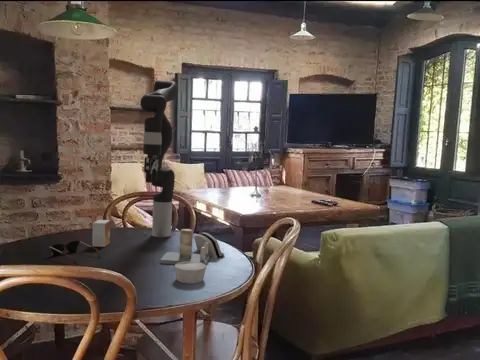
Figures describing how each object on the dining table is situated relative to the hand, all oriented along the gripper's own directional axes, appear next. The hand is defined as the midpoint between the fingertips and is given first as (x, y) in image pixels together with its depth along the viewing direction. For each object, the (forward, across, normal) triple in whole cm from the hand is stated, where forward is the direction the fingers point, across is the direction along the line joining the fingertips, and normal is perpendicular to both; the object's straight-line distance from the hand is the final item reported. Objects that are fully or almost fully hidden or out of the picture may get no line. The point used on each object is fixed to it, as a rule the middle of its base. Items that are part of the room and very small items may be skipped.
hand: (151, 181), depth 196 cm
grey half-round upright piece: (+30, +3, -25) cm, 40 cm away
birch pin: (+29, -11, -18) cm, 36 cm away
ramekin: (+30, -34, -24) cm, 52 cm away
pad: (+30, -11, -18) cm, 37 cm away
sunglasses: (+31, -16, +25) cm, 43 cm away
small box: (+30, +5, +23) cm, 38 cm away
